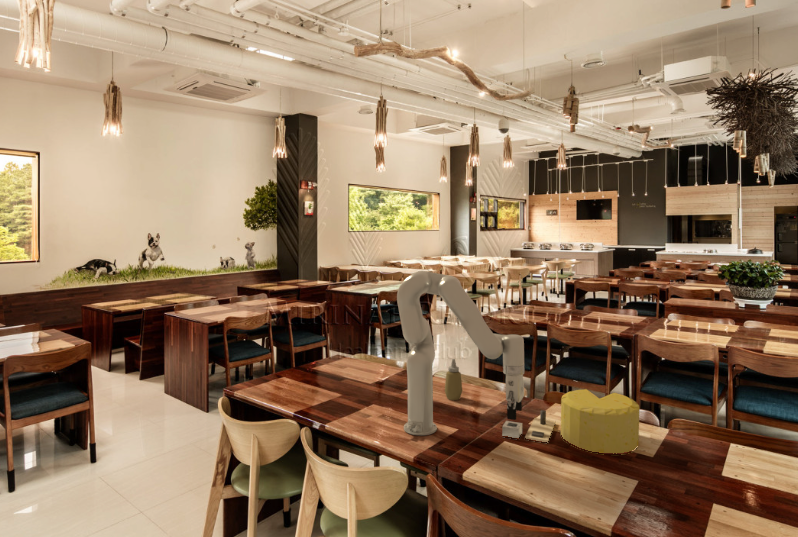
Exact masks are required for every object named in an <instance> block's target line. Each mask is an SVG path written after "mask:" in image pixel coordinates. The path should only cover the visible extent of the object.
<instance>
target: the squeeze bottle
mask: <svg viewBox="0 0 798 537" xmlns="http://www.w3.org/2000/svg"><path fill="white" fill-rule="evenodd" d="M447 368H448V371H446V373H445V383H444V384H445V385H444V394H445V397H446V399H447V400H450V401H458V400H460V399H461V396H462V393H463V381H462V373H461V372H460V371H459V370H460V368H459V366H457V363H456V359H455V358H453V359H451V364H450V366H448V367H447Z"/></svg>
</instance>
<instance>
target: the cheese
mask: <svg viewBox="0 0 798 537" xmlns="http://www.w3.org/2000/svg"><path fill="white" fill-rule="evenodd" d="M560 399H561V400H560V404H561V405H560V436H561V435H562V437H563V439H565V440H566V441H568V442H569V443H571V444H573V445H575V446H577V447H579V448H582V449H585V450H588V451H592V452H599V453H613V454H614V453H616V454H617V453H624V452H629V451H632V450H634V449H635V448H636V447H637V446H638V447H639V442H640V441H639V439H640V438H639V436H640V405H639V404H638V402H636V401H635V400H634V399H633V398H631V397H628V396H626V395H623V394H620V393H619V392H618V393H617V392H613V393H610V394H607V395H605V396H603V397H600V398H599V397H598V396H597V395H595V394H594V393H592V392H591V391H590V390H588V389H587V388H585V389H575V390H571V391H568V392H566V393H565V394H563V395H562V396H561V398H560ZM562 437H561V438H562ZM563 439H562V440H563ZM588 451H587V452H588ZM592 452H591V453H592Z"/></svg>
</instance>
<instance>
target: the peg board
mask: <svg viewBox="0 0 798 537" xmlns="http://www.w3.org/2000/svg"><path fill="white" fill-rule="evenodd" d="M555 423H556V420H550V419H547V412H546V410H544V409H541V410H540V417H539V418H538V417H534V419H533V421H532V423H531V424H530V426H529V428H528V430H527V432H526V434H525V436H524V439H525V438H526V439H531V440H536V441H542V442H547V443H548V444H549V442H550V440H549V438H550V439H551V437H552V434H553V432H554V429H553V428H555V427H554V425H555V426H556V424H555ZM552 431H553V432H552ZM551 433H552V434H551ZM550 436H551V437H550ZM548 441H549V442H548ZM547 443H546V444H547Z"/></svg>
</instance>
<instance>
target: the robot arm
mask: <svg viewBox="0 0 798 537" xmlns="http://www.w3.org/2000/svg"><path fill="white" fill-rule="evenodd" d="M423 294H430V295H436V296H440V297H441V299H442V301H443V303H445V304H446V305H447V307H448V308H449V310H450V311H451V312H452V313H453V315H454V316H455V317H456V318H457V320H458V321H459V323H460V325H461V326H462V327H463V329H464V330H465V332H466V333H467V335H468V337H469V338H470V339H471V341H472V342H473V344H474V345H475V346H476V347H477V349H478V350H479V351H480V352H481V354H482V355H483V356H484V357H485V358H487V359H488V360H489V359H491V360H496V359H497V358H498V359H499V357H500V356H501V355H502V368H503V370H502V372H503V374H504V375H505V400H506V402H507V403H506V419H507V420H512V421H516V420H517V412H521V411H522V410H523V409H522V408H523V406H522V403H523V401H522V400H523V398H524V396H525V384H524V374H525V343H524V341H525V340H524V336H522V335H519V334H500V333H493V331H492V330H491V329H490V327H489V326H488V324H487V323H486V321H485V320H484V317H483V315H482V312H481V311H480V309H479V307H478V306H477V304H476V303H475V302H474V301H473V299H472V298H471V296H470V295H468V293H467V292H466V290H465V289H464V287H463V286H462V283H461V281H460V279H458V278H457V277H456V276H454V275H448V274H442V273H436V272H433V271H426V270H418V271H416V272H414V273H411V274H410V275H409V276H407V277H406V278H405V279H404V280H403V281H401V283H400V285H399V287H398V289H397V294H396V302H397V306H398V312H399V319H400V324H401V330H402V335H403V338H404V340H405V341H406V342H407V343H408V344H409V349H410V351H409V353H408V355H407V359H406V374H407V422H406V423H404V425H403V430H404V432H405V433H408V434H409V435H413V436H429V435H432V434H434V433H435V432H437V430H438V425H436V423H434V414H433V413H434V412H433V411H434V400H433V399H434V398H433V397H434V395H433V394H434V382H433V381H434V380H433V378H434V377H433V374H434V373H433V364H434V361H435V357H436V350H435V345H434V341H433V335H432V331H431V326H430V324H429V322H428V320H427V319H426V318H425V317H424V315H423V311H422V310H423V309H422V307H421V306H422V304H421V301H420V298H421V296H422V295H423Z"/></svg>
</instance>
